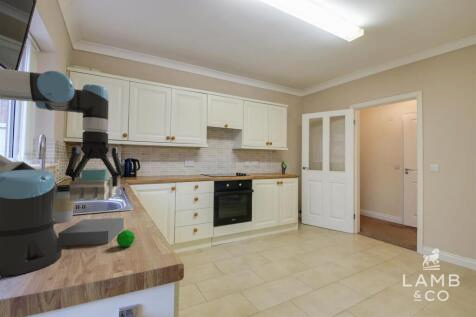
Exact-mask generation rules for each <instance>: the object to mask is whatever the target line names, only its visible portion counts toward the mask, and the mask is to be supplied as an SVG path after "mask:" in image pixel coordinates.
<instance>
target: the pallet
mask: <svg viewBox="0 0 476 317" xmlns="http://www.w3.org/2000/svg"><path fill="white" fill-rule="evenodd" d="M110 178H111V177H108V179H106V180H101V181H81V180H76V181H72V180H70V181H69V185H70V201H80V200H83V201H93V200H94V199H96V198H97V201H105V200H107V199H109V198H110V199H111V197H109V191H110ZM117 187H118V185H117V186H116V187H115V195H114V196H116V195H117V194H118V193H117Z"/></svg>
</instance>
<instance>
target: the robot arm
mask: <svg viewBox="0 0 476 317" xmlns="http://www.w3.org/2000/svg"><path fill="white" fill-rule="evenodd" d="M0 100H2V101H3V100H4V101H5V100H6V101H20V102H32V103H33V102H34V103H35V106H36V108H38V109H41V110H48V111H56V112H57V111H58V112H67V113H68V112H69V113H79V114H82V127H81V128H82V131H83V132H82V136H81V137H82V138H81V139H82V140H81V141H82V146H79V147H77V146H72V147H71V155H70V158H69V161H68V163H67V164H68V165H67V166H66V170H65V172H64V175H65V176H66V177H70V178H71V181H76V180H81V176H80V175H81V170H84V168H85V167H86V165H87V163H88V162H89V161H91V160H92V159H93V160H95V159H97V160H101V161H102V162H103V164H104V166H105V167H106V169H108V173H109V174H110V175H111V177H109V178H110V191H109V197H110V198H111V197H114V196H116V195H115V187H116V186H117V187H118V182H119V181H118V177H120V176H123V175H124V169H123V166H122V164H121V161H120V157H119V148H118V147H110V146H109V133H108V131H109V90H108V89H107V88H105V87H104V86H103V85H98V84H89V83H88V84H87V83H86V84H84V85H83V86H82V89H75V87H74V83H73V81H72V80H71V78H70V77H69V76H67V75H66V74H64V73H63V72H60V71H57V70H48V71H47V70H46V71H45V72H42V73H41V72H32V71H24V70H16V69H8V68H2V67H0ZM81 152H82V153H83V155H82V157H81V160H80V162H78V159H79V156H80V154H81ZM108 152H109V153H110V154H111V157H112V160H113V164H114V166H115V168H114V166H113V164H112V163H111V161H110V159H109V157H108V156H107V154H108ZM77 162H78V164H77ZM76 165H77V166H76ZM57 192H58V189H57V182H56V179H55V176H54V174H53V173H52V172H51V171H48V170H43V169H36V168H35V167H33V166H31V165H29V164H28V163H27V162H25V161H12V160H11V159H9V158H7V157H5V156H3V155H2V154H0V276H6V277H9V276H8V275H13V276H17V275H22V274H26V273H31V272H33V271H37V270H40V269H42V268H45V267H47V266H51V265H52V264H53V263H56V262H57V261H59V260H60V259H61V258H62V256H63V255H62V253H63V252H62V251H63V250H62V249H63V248H62V246H61V245H60V242H59V240H58V234H57V233H56V231H55V226H54V225H55V224H54V223H55V220H54V200H55V198H56V196H57Z"/></svg>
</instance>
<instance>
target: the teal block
mask: <svg viewBox="0 0 476 317" xmlns="http://www.w3.org/2000/svg"><path fill="white" fill-rule="evenodd" d="M80 175H81V176H80V177H81V181H101V180H106V179H108V178H109V171H108V169H107V168H89V169H88V168H87V169H83V170H81V173H80Z"/></svg>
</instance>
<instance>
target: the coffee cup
mask: <svg viewBox="0 0 476 317" xmlns="http://www.w3.org/2000/svg"><path fill="white" fill-rule="evenodd" d="M57 189H58V192H57V196H56V198H55V200H54V223H56V224H59V223H60V224H61V223H68V222H71V221H73V216H74V210H75V205H76V204H75V201H70V184H58V185H57Z"/></svg>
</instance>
